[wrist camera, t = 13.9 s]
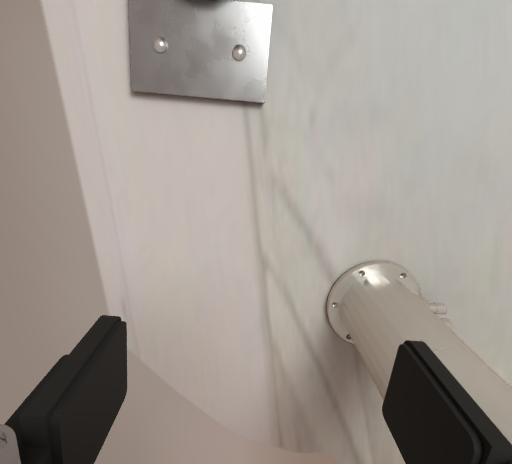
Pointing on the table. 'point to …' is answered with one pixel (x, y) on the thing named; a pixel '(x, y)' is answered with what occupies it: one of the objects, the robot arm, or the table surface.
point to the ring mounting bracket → (200, 48)
